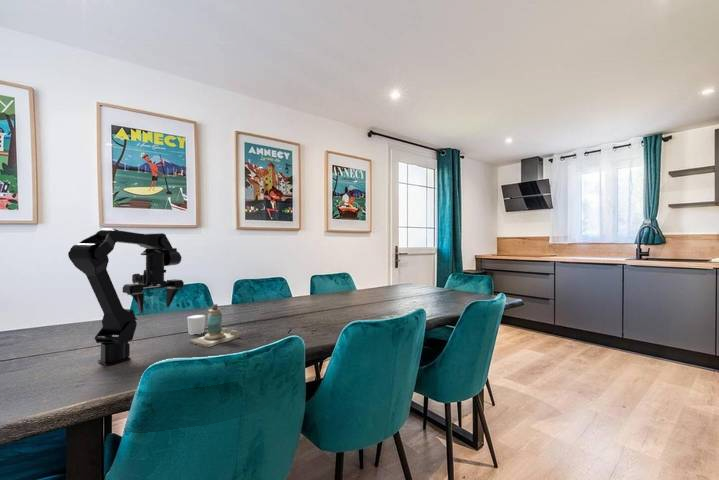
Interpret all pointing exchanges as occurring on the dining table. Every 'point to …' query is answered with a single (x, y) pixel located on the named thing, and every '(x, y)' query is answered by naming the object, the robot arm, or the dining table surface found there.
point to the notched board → (208, 343)
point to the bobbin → (214, 324)
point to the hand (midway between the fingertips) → (154, 309)
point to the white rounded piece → (196, 324)
